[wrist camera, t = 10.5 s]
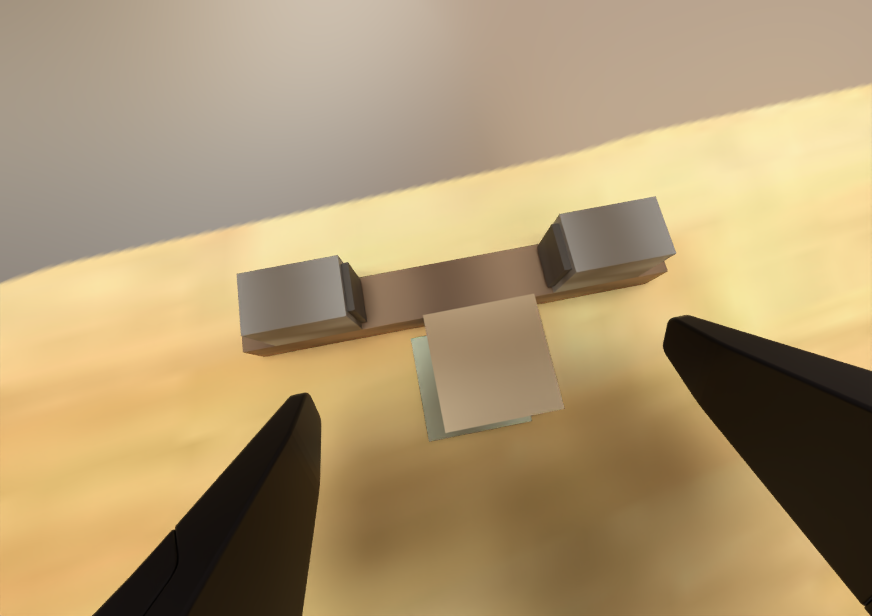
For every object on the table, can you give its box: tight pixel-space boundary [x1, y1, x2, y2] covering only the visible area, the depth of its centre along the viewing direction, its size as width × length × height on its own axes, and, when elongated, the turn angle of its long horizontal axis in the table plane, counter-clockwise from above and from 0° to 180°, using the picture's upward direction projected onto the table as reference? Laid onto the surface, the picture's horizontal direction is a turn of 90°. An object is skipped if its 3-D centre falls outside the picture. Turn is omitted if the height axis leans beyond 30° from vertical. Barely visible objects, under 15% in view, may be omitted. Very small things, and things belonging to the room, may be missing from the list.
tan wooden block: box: [423, 294, 565, 433], centre depth 14 cm, size 3×3×9 cm
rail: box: [237, 196, 676, 442], centre depth 16 cm, size 20×8×5 cm, turn 101°
